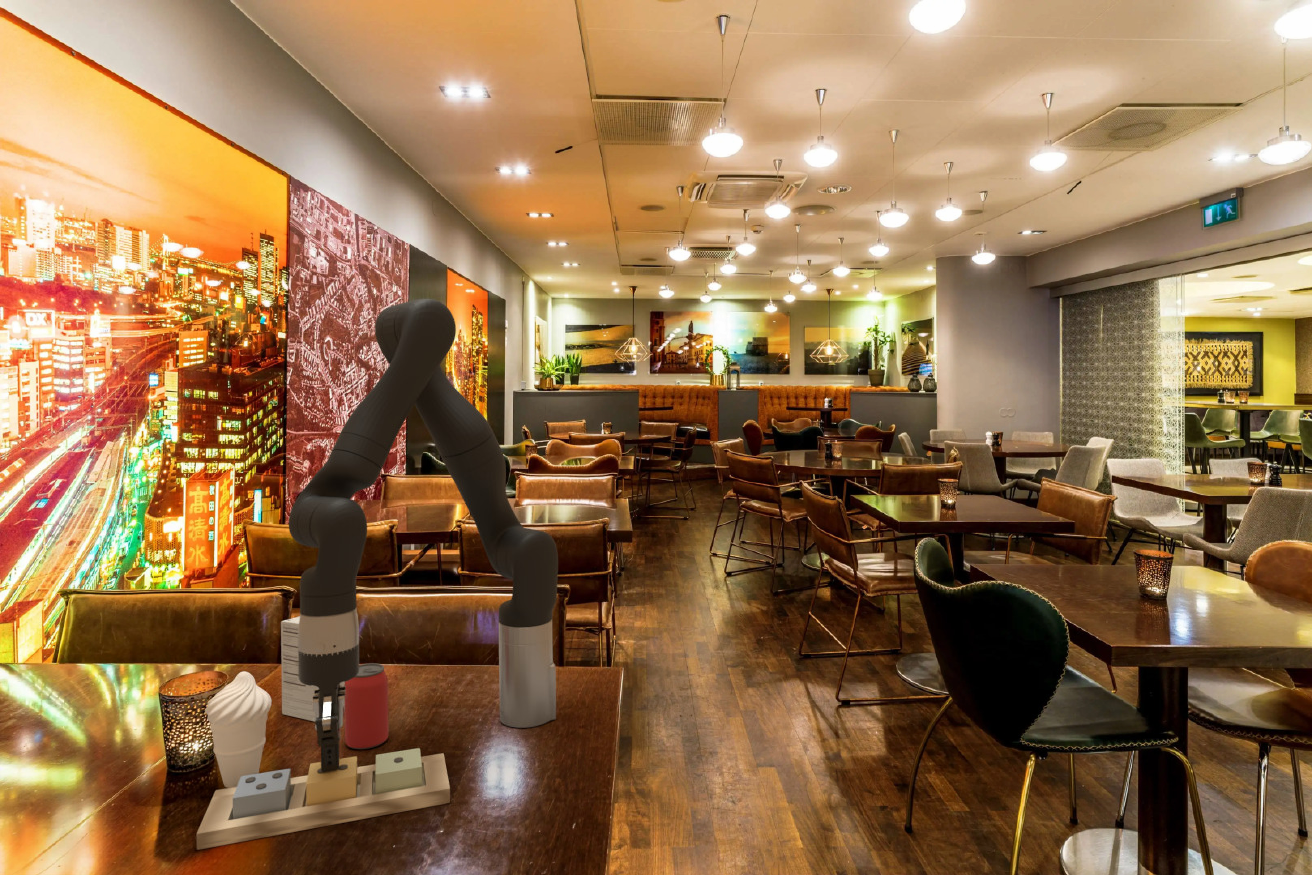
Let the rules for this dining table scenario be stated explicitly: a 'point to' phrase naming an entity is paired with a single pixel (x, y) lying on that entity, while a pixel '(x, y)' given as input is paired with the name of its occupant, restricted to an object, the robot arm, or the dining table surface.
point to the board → (322, 806)
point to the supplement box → (294, 675)
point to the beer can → (367, 707)
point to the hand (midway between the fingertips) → (330, 768)
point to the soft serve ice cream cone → (239, 727)
